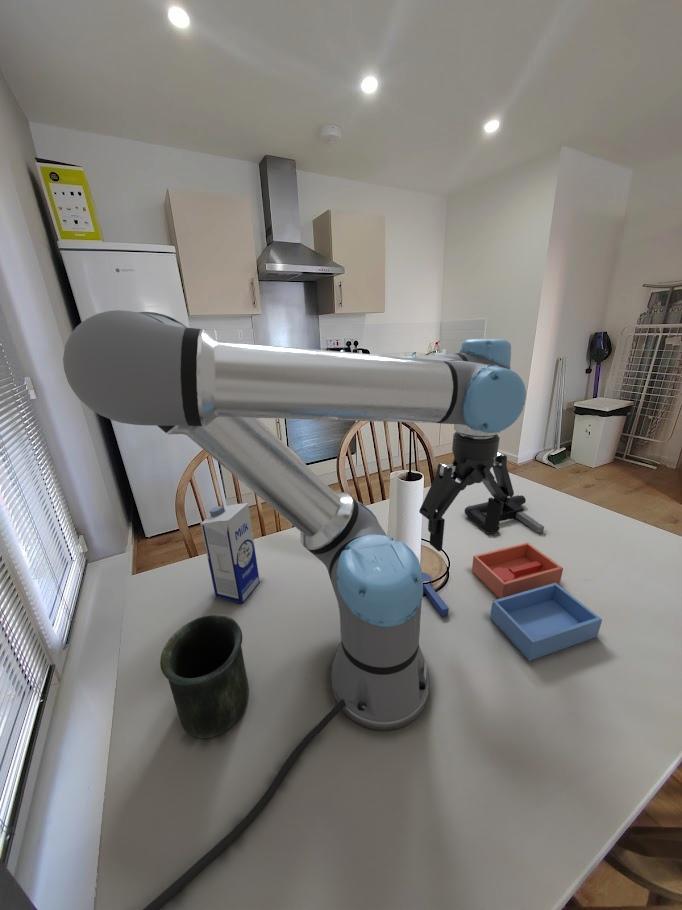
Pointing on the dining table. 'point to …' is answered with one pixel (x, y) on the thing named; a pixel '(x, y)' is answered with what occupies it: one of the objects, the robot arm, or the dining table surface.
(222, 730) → the dark green pot
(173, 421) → the robot arm
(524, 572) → the red spoon
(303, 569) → the dining table surface
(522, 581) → the red bin
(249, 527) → the milk carton
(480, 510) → the door handle
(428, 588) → the blue spoon
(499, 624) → the blue bin
